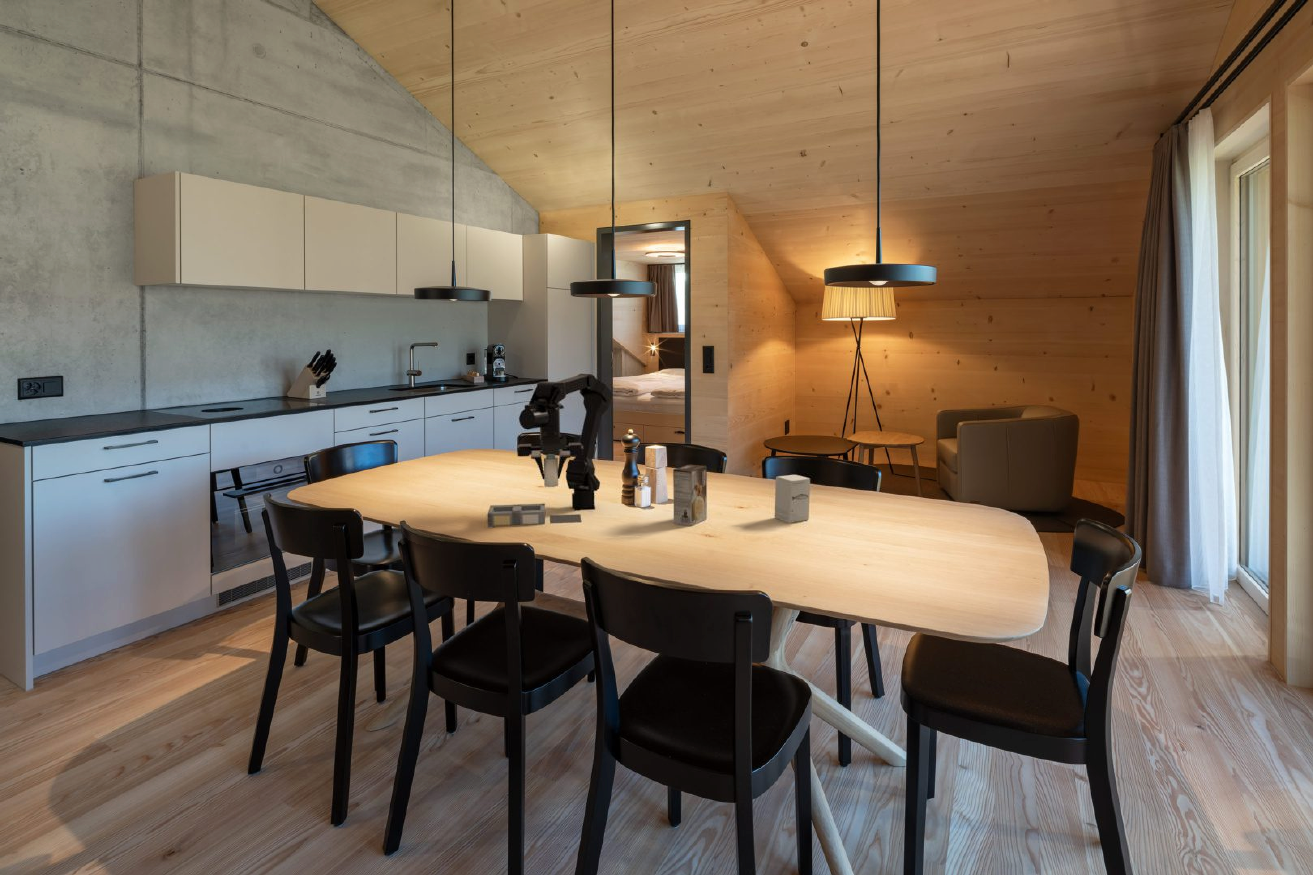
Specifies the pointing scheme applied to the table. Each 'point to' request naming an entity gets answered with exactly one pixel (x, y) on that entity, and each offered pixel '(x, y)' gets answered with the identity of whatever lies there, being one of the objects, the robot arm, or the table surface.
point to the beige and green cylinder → (550, 471)
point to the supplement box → (792, 498)
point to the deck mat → (565, 518)
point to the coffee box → (690, 494)
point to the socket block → (516, 515)
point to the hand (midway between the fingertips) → (551, 478)
